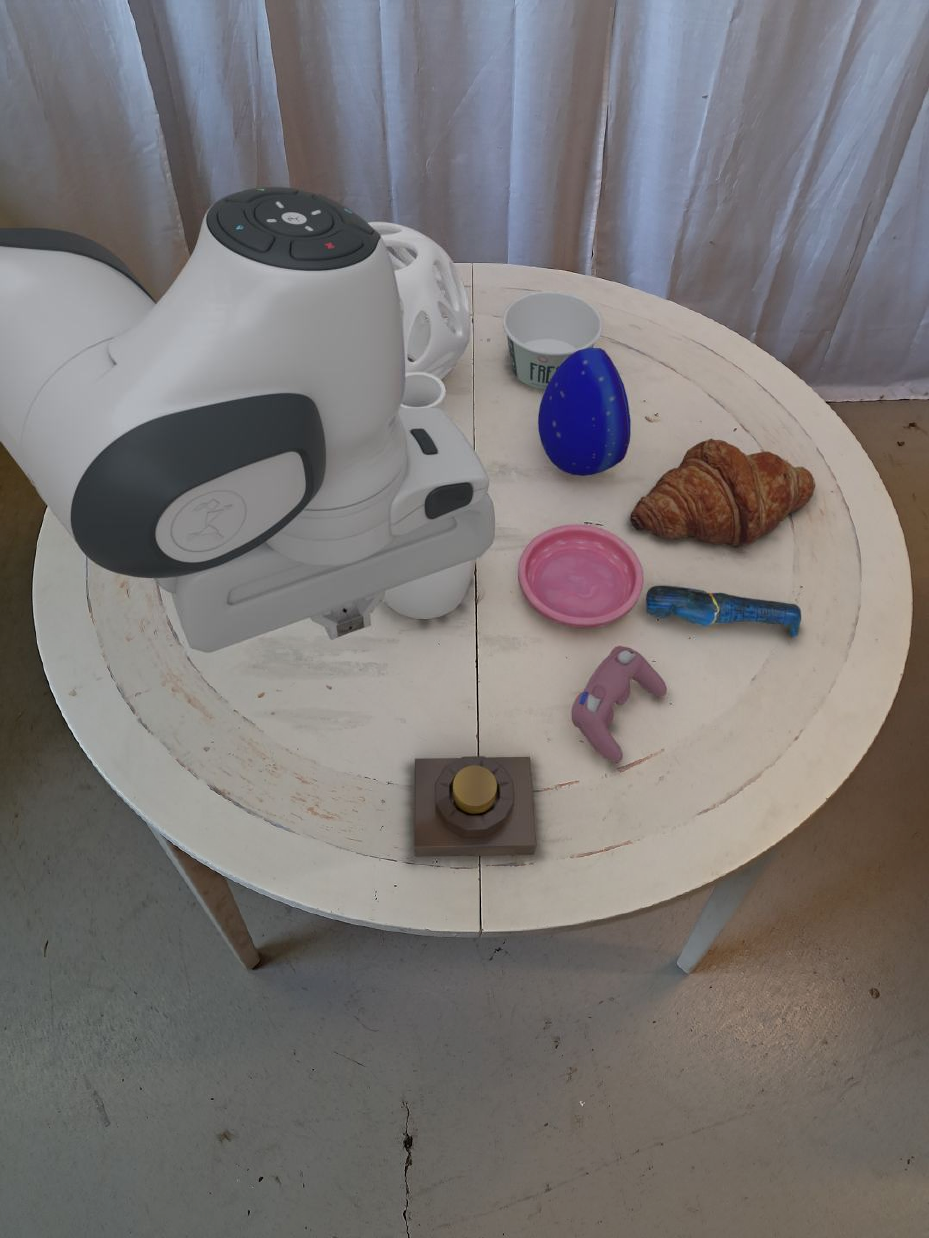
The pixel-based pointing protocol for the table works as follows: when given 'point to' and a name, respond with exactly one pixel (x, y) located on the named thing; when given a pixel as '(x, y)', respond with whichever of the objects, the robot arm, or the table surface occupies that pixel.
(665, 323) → the table surface
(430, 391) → the bottle
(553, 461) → the ornament
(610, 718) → the video game controller
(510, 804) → the button block
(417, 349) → the decorative ball
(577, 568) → the saucer
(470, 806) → the button
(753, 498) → the pastry
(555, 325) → the food container
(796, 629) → the figurine
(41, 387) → the robot arm
